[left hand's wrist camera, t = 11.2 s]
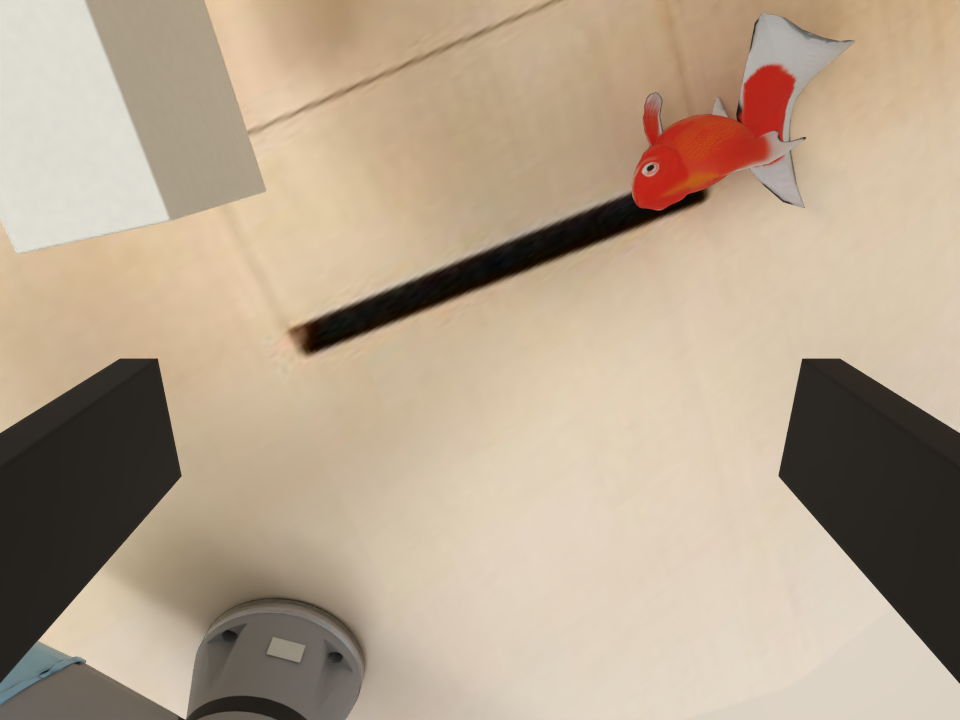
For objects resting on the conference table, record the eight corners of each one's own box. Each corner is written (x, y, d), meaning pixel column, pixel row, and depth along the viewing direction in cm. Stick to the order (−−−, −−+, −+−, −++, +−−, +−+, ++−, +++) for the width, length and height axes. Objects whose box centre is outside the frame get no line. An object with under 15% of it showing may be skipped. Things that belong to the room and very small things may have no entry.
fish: (582, 41, 34) (717, 67, 27) (777, -17, 39) (935, -8, 32) (587, 214, 41) (696, 272, 34) (752, 146, 46) (878, 184, 39)
